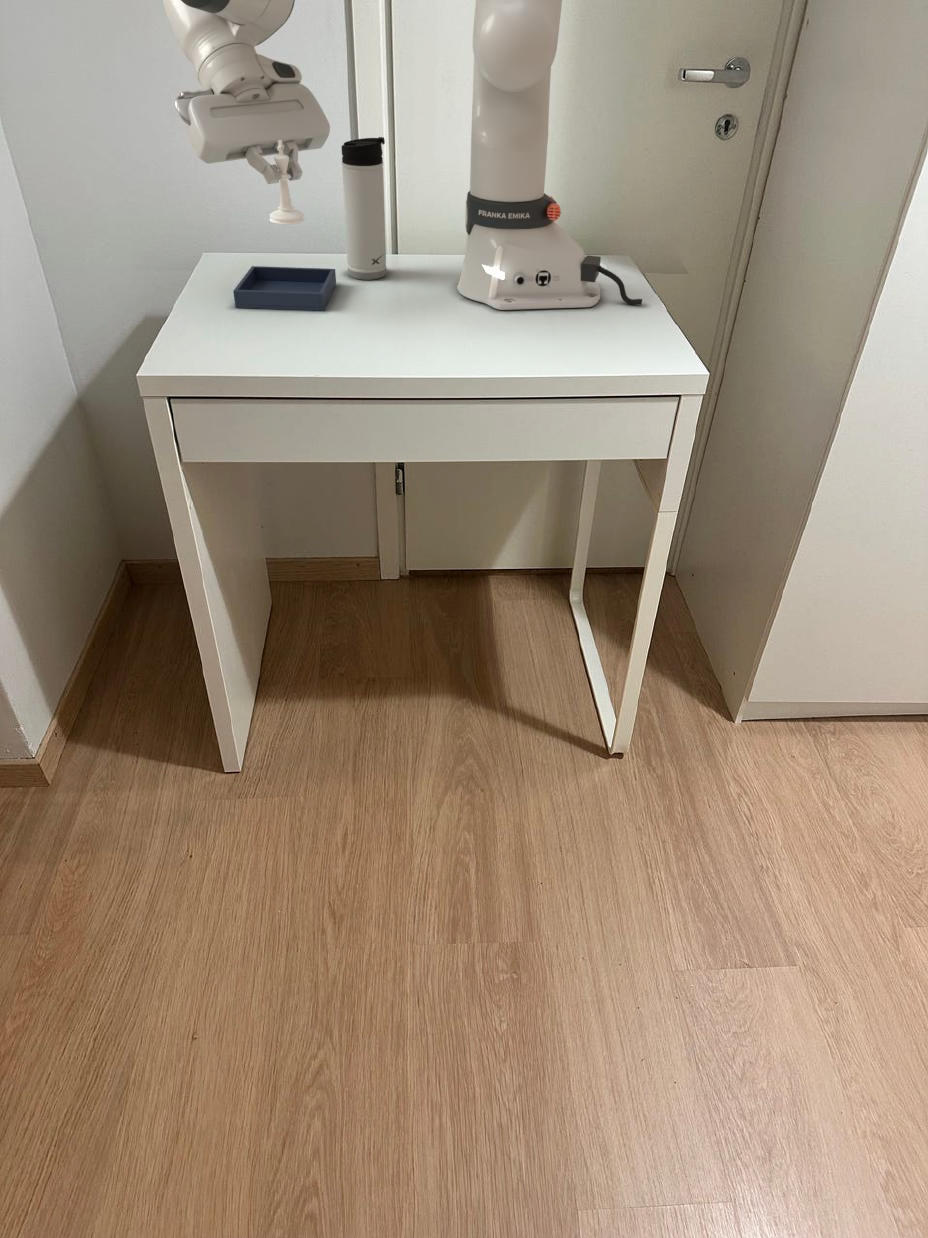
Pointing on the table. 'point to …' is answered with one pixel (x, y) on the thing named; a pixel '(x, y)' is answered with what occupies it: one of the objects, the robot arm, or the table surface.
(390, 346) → the table surface
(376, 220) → the travel mug
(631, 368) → the table surface
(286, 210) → the chess piece
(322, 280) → the tray
